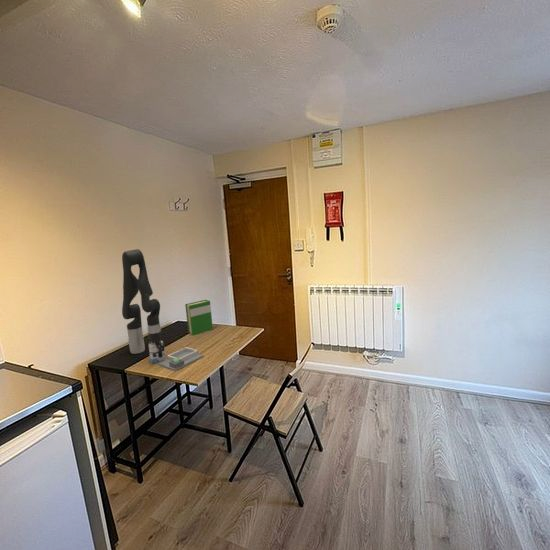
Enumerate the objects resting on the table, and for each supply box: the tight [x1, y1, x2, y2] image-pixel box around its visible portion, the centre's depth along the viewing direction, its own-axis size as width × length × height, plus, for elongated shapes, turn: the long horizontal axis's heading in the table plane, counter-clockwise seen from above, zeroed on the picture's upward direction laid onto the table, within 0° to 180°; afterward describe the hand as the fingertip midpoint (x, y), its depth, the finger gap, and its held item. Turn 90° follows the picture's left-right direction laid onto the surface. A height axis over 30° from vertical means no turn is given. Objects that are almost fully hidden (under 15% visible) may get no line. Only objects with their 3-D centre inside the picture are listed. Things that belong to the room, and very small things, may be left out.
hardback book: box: [184, 299, 214, 336], centre depth 241 cm, size 18×7×24 cm, turn 131°
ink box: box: [148, 340, 167, 364], centre depth 192 cm, size 8×5×12 cm, turn 126°
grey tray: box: [157, 346, 205, 372], centre depth 190 cm, size 17×22×4 cm
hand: (157, 356), depth 193 cm, fingers closed on ink box, 6 cm apart
